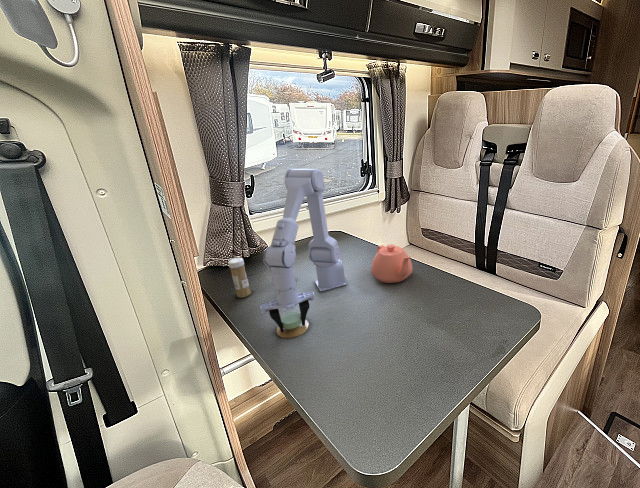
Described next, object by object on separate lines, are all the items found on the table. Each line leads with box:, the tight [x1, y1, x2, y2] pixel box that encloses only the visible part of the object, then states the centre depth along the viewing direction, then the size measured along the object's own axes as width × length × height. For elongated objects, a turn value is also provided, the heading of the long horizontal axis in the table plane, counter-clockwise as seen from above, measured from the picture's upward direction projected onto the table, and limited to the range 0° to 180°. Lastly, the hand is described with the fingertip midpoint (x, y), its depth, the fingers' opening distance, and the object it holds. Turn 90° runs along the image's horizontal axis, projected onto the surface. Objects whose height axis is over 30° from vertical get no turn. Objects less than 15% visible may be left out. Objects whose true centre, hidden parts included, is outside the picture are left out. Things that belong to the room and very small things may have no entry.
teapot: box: [370, 244, 413, 284], centre depth 118 cm, size 22×16×12 cm
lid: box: [280, 311, 302, 329], centre depth 92 cm, size 6×6×2 cm
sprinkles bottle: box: [227, 257, 252, 299], centre depth 108 cm, size 5×5×13 cm
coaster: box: [276, 318, 310, 339], centre depth 92 cm, size 9×9×1 cm
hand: (292, 326), depth 92 cm, fingers closed on lid, 5 cm apart
